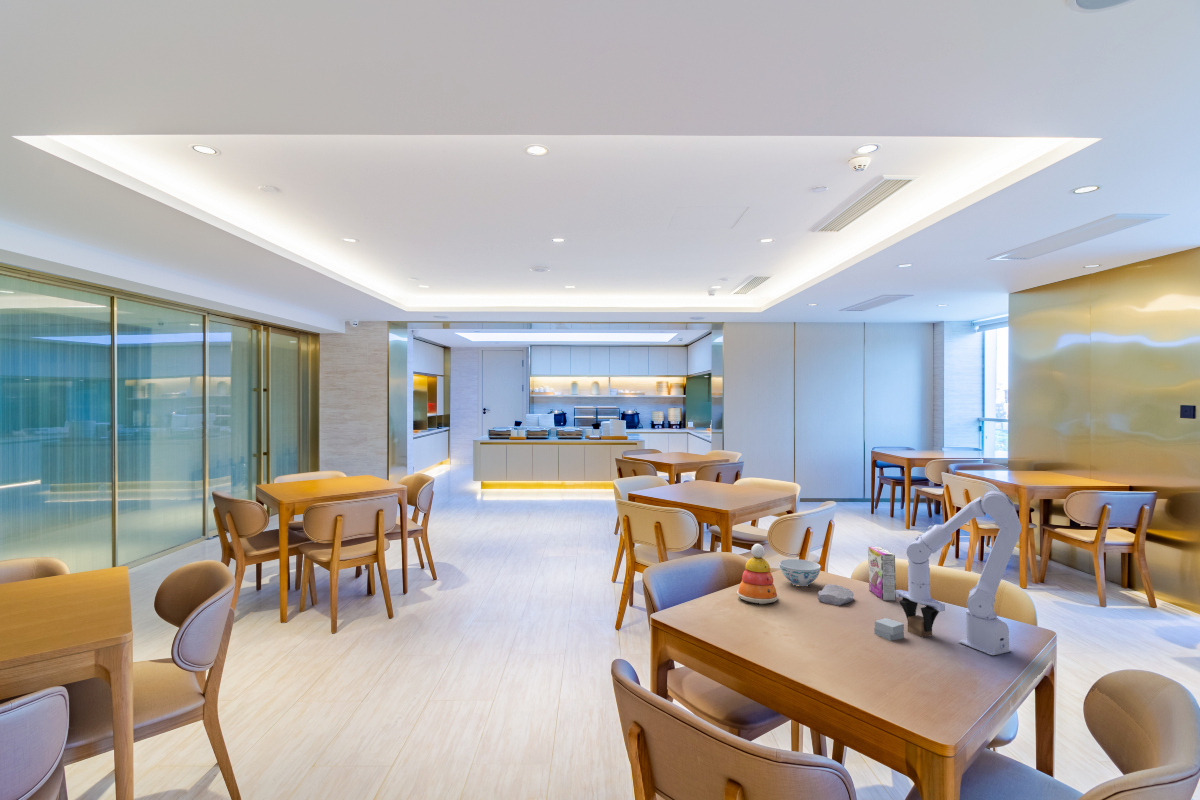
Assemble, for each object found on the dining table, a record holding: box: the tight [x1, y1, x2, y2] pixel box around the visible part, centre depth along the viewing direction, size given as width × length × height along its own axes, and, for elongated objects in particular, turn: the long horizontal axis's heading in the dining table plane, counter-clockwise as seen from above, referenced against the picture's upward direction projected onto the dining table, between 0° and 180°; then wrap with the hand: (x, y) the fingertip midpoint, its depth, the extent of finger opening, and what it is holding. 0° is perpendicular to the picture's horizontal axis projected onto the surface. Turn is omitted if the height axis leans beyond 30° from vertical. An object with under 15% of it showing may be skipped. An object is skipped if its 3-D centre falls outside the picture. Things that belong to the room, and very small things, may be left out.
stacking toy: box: [736, 543, 779, 605], centre depth 195 cm, size 14×14×20 cm
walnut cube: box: [907, 614, 933, 638], centre depth 164 cm, size 4×4×4 cm
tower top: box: [874, 617, 905, 635], centre depth 162 cm, size 6×6×2 cm
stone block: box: [817, 583, 854, 607], centre depth 194 cm, size 12×5×10 cm
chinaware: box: [778, 558, 822, 586], centre depth 212 cm, size 15×15×8 cm
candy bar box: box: [867, 546, 897, 602], centre depth 198 cm, size 11×5×16 cm, turn 178°
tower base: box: [873, 627, 905, 642], centre depth 162 cm, size 6×6×2 cm
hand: (919, 627), depth 164 cm, fingers closed on walnut cube, 5 cm apart
